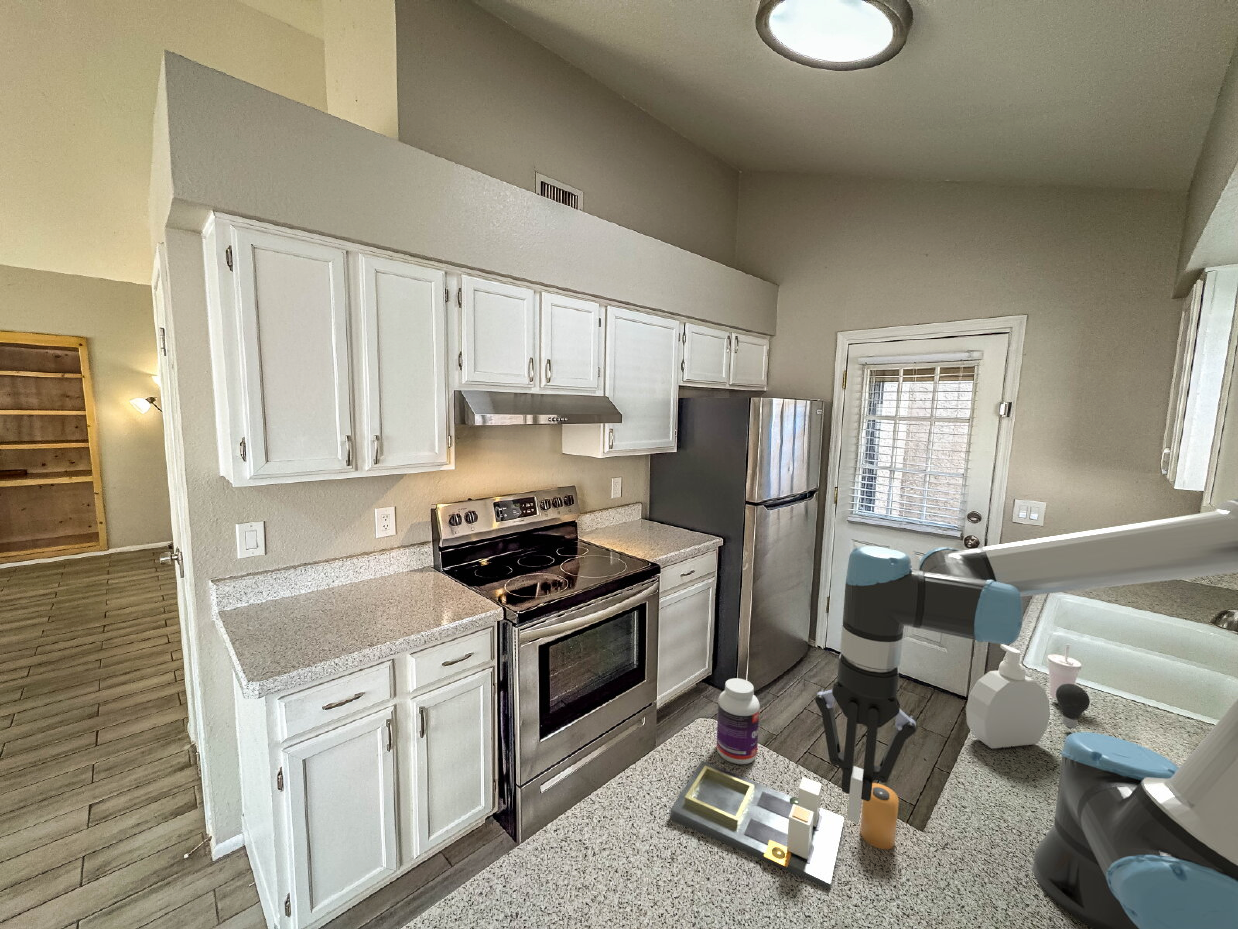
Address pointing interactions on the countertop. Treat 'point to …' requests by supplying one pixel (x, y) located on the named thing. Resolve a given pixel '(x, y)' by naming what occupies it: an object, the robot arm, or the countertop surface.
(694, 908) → the countertop surface
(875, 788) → the cap
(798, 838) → the block
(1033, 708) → the soap bottle
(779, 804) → the breaker panel
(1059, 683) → the smoothie
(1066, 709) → the light bulb
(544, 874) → the countertop surface
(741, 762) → the pill bottle
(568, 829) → the countertop surface
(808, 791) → the breaker
